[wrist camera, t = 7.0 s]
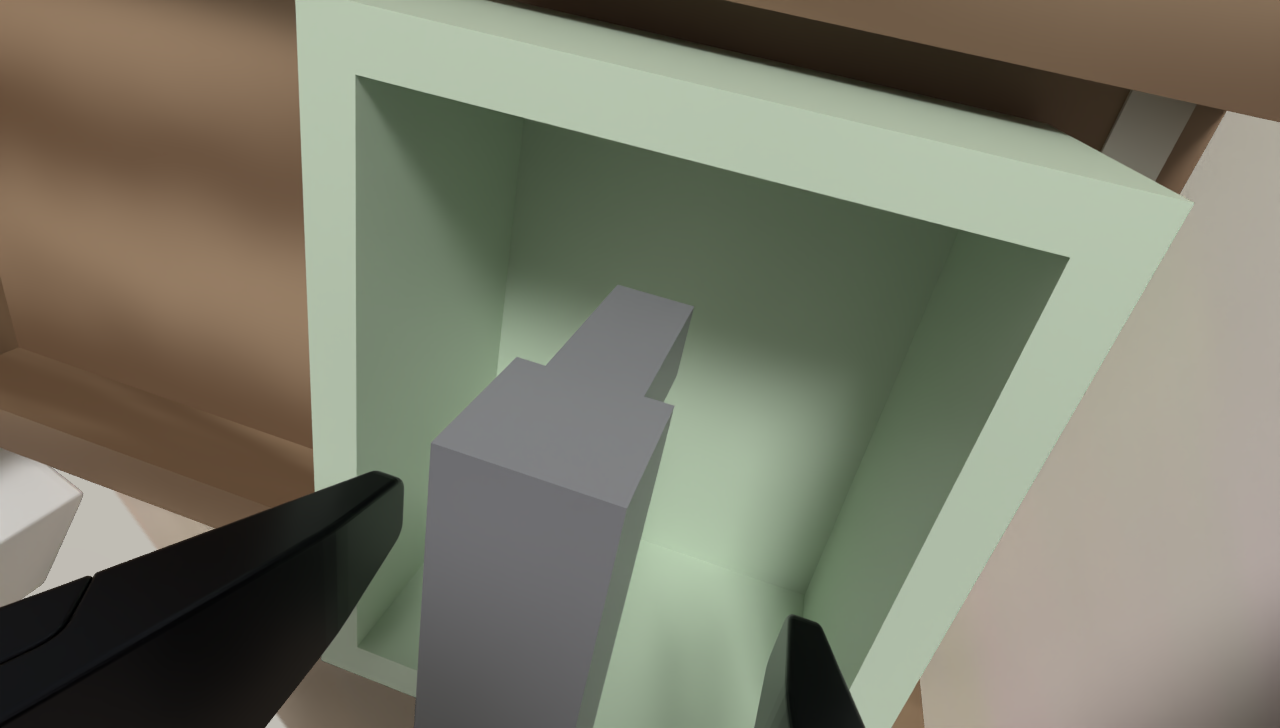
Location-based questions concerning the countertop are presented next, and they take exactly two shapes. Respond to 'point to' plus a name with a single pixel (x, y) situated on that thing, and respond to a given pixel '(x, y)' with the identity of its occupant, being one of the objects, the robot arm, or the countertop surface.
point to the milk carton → (31, 522)
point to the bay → (274, 214)
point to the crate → (680, 354)
